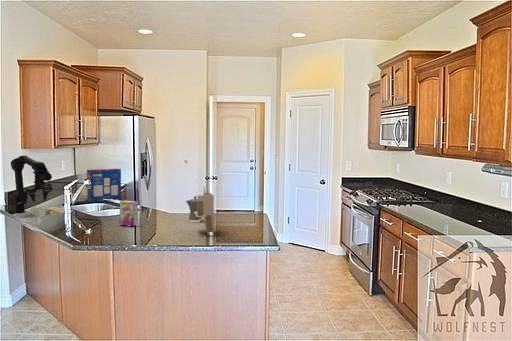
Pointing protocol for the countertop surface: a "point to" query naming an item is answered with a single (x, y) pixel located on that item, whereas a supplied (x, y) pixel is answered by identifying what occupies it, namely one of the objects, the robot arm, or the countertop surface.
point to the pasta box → (104, 184)
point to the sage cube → (39, 212)
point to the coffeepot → (193, 208)
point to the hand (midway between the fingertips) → (39, 201)
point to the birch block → (54, 210)
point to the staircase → (206, 210)
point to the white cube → (34, 208)
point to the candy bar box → (128, 213)
